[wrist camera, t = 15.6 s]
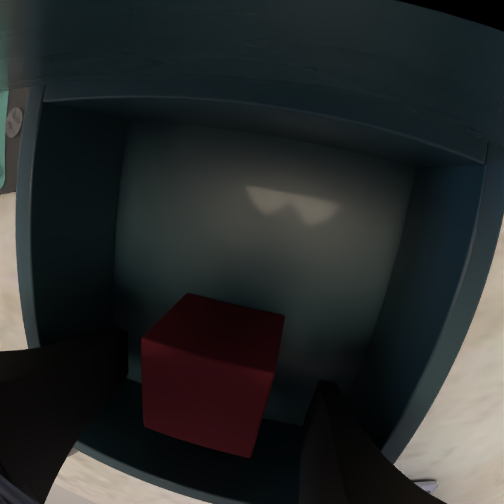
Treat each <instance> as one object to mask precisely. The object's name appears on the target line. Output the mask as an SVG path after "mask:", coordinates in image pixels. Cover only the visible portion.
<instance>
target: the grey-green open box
mask: <svg viewBox="0 0 504 504" xmlns="http://www.w3.org/2000/svg"><path fill="white" fill-rule="evenodd" d="M503 215H504V148H502V147H500V146H497V145H495V144H493V143H491V142H488V141H486V140H484V139H482V138H479V137H477V136H474V135H472V134H470V133H467V132H465V131H462V130H459V129H457V128H454V127H452V126H449V125H446V124H443V123H441V122H438V121H435V120H432V119H429V118H426V117H423V116H420V115H417V114H414V113H411V112H407V111H404V110H401V109H397V108H394V107H391V106H387V105H383V104H380V103H376V102H372V101H368V100H364V99H360V98H356V97H351V96H347V95H343V94H338V93H333V92H328V91H323V90H318V89H312V88H307V87H301V86H295V85H288V84H281V83H274V82H266V81H258V80H249V79H239V78H227V77H212V76H190V75H136V76H115V77H101V78H90V79H80V80H71V81H63V82H56V83H50V84H43V85H37V86H32V87H30V89H29V94H28V99H27V104H26V109H25V115H24V121H23V127H22V134H21V142H20V150H19V160H18V171H17V186H16V256H17V271H18V282H19V292H20V301H21V308H22V315H23V322H24V328H25V334H26V339H27V344H28V349H32V348H38V347H43V346H47V345H51V344H55V343H59V342H62V341H66V340H70V339H73V338H76V337H79V336H82V335H86V334H89V333H92V332H95V331H98V330H101V329H105V328H108V327H112V326H116V327H119V328H122V329H124V330H127V331H128V367H129V373H128V375H127V376H126V378H125V380H124V381H123V383H122V385H121V386H120V388H119V389H118V391H117V392H116V393H115V395H114V396H113V397H112V398H111V399H110V401H109V402H108V403H107V404H106V405H105V406H104V408H103V409H102V410H101V411H100V412H99V413H98V414H97V416H96V417H95V418H94V419H93V420H92V421H91V423H90V424H89V425H88V426H87V427H86V429H85V430H84V431H83V432H82V434H81V435H80V437H79V438H78V440H77V441H76V443H75V445H74V446H73V448H75V449H76V450H78V451H80V452H82V453H84V454H86V455H88V456H90V457H92V458H94V459H96V460H98V461H100V462H102V463H104V464H106V465H108V466H110V467H112V468H114V469H117V470H119V471H121V472H123V473H126V474H128V475H130V476H133V477H135V478H138V479H140V480H143V481H145V482H148V483H150V484H153V485H156V486H158V487H161V488H164V489H167V490H170V491H173V492H175V493H179V494H182V495H185V496H188V497H191V498H195V499H198V500H201V501H205V502H209V503H212V504H299V495H300V452H301V437H302V430H303V423H304V418H305V416H306V413H307V411H308V408H309V405H310V403H311V400H312V397H313V395H314V392H315V389H316V386H317V383H318V381H319V380H324V381H330V382H336V384H337V386H338V387H339V389H340V391H341V393H342V395H343V397H344V398H345V400H346V402H347V404H348V406H349V407H350V409H351V411H352V413H353V414H354V416H355V417H356V419H357V421H358V422H359V424H360V425H361V427H362V428H363V430H364V431H365V433H366V434H367V435H368V437H369V438H370V439H371V441H372V442H373V443H374V444H375V446H376V447H377V448H378V449H379V450H380V451H381V453H382V454H383V455H384V456H385V457H386V458H387V459H388V460H389V461H390V462H391V463H392V464H394V463H395V462H396V460H397V459H398V457H399V456H400V455H401V453H402V452H403V450H404V449H405V447H406V446H407V444H408V443H409V441H410V440H411V438H412V437H413V435H414V434H415V432H416V430H417V429H418V427H419V426H420V424H421V422H422V421H423V419H424V417H425V416H426V414H427V412H428V411H429V409H430V407H431V405H432V404H433V402H434V400H435V398H436V396H437V395H438V393H439V391H440V389H441V387H442V385H443V383H444V381H445V379H446V377H447V375H448V373H449V371H450V369H451V367H452V365H453V363H454V361H455V359H456V357H457V355H458V352H459V350H460V348H461V346H462V343H463V341H464V339H465V336H466V334H467V332H468V329H469V327H470V324H471V322H472V319H473V317H474V314H475V311H476V309H477V306H478V303H479V300H480V298H481V295H482V292H483V289H484V286H485V283H486V280H487V276H488V273H489V270H490V267H491V263H492V260H493V256H494V252H495V249H496V245H497V241H498V237H499V233H500V228H501V224H502V219H503ZM186 293H190V294H194V295H198V296H202V297H206V298H210V299H214V300H218V301H222V302H227V303H231V304H235V305H240V306H244V307H248V308H253V309H257V310H262V311H266V312H271V313H276V314H280V315H284V316H285V320H284V326H283V332H282V338H281V343H280V349H279V354H278V359H277V365H276V370H275V375H274V379H273V383H272V387H271V390H270V394H269V398H268V401H267V405H266V408H265V412H264V415H263V419H262V422H261V426H260V429H259V433H258V436H257V440H256V443H255V446H254V450H253V453H252V456H251V457H250V458H247V457H242V456H238V455H234V454H230V453H226V452H222V451H218V450H214V449H211V448H207V447H204V446H200V445H197V444H193V443H190V442H187V441H184V440H181V439H178V438H174V437H171V436H169V435H166V434H163V433H160V432H157V431H154V430H152V429H149V428H146V427H145V426H144V423H143V405H142V377H141V339H142V337H143V336H144V335H145V334H146V333H147V332H148V331H149V330H150V329H151V328H152V327H153V326H154V325H155V324H156V323H157V322H158V321H159V320H160V319H161V318H162V317H163V316H164V315H165V314H166V313H167V312H168V311H169V310H170V309H171V308H172V307H173V306H174V305H175V304H176V303H177V302H178V301H179V300H180V299H181V298H182V297H183V296H184V295H185V294H186Z"/></svg>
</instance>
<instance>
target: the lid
mask: <svg viewBox="0 0 504 504" xmlns="http://www.w3.org/2000/svg"><path fill="white" fill-rule="evenodd" d="M136 75H190V76H212V77H227V78H239V79H249V80H258V81H266V82H274V83H281V84H288V85H295V86H301V87H307V88H312V89H318V90H323V91H328V92H333V93H338V94H343V95H347V96H351V97H356V98H360V99H364V100H368V101H372V102H376V103H380V104H383V105H387V106H391V107H394V108H397V109H401V110H404V111H407V112H411V113H414V114H417V115H420V116H423V117H426V118H429V119H432V120H435V121H438V122H441V123H443V124H446V125H449V126H452V127H454V128H457V129H459V130H462V131H465V132H467V133H470V134H472V135H474V136H477V137H479V138H482V139H484V140H486V141H488V142H491V143H493V144H495V145H497V146H500V147H502V148H504V0H0V92H4V91H9V90H15V89H21V88H26V87H32V86H37V85H43V84H50V83H56V82H63V81H71V80H80V79H90V78H101V77H115V76H136Z"/></svg>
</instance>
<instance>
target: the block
mask: <svg viewBox="0 0 504 504" xmlns="http://www.w3.org/2000/svg"><path fill="white" fill-rule="evenodd" d="M284 320H285V316H284V315H280V314H276V313H271V312H266V311H262V310H257V309H253V308H248V307H244V306H240V305H235V304H231V303H227V302H222V301H218V300H214V299H210V298H206V297H202V296H198V295H194V294H190V293H186V294H185V295H184V296H183V297H182V298H181V299H180V300H179V301H178V302H177V303H176V304H175V305H174V306H173V307H172V308H171V309H170V310H169V311H168V312H167V313H166V314H165V315H164V316H163V317H162V318H161V319H160V320H159V321H158V322H157V323H156V324H155V325H154V326H153V327H152V328H151V329H150V330H149V331H148V332H147V333H146V334H145V335H144V336H143V337H142V339H141V377H142V405H143V423H144V426H145V427H146V428H149V429H152V430H154V431H157V432H160V433H163V434H166V435H169V436H171V437H174V438H178V439H181V440H184V441H187V442H190V443H193V444H197V445H200V446H204V447H207V448H211V449H214V450H218V451H222V452H226V453H230V454H234V455H238V456H242V457H247V458H250V457H251V456H252V453H253V450H254V446H255V443H256V440H257V436H258V433H259V429H260V426H261V422H262V419H263V415H264V412H265V408H266V405H267V401H268V398H269V394H270V390H271V387H272V383H273V379H274V375H275V370H276V365H277V359H278V354H279V349H280V343H281V338H282V332H283V326H284Z"/></svg>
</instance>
